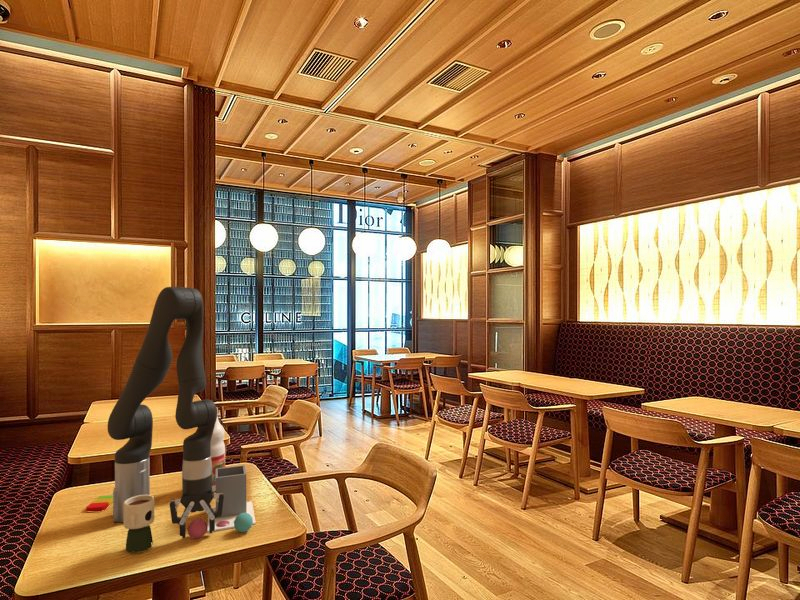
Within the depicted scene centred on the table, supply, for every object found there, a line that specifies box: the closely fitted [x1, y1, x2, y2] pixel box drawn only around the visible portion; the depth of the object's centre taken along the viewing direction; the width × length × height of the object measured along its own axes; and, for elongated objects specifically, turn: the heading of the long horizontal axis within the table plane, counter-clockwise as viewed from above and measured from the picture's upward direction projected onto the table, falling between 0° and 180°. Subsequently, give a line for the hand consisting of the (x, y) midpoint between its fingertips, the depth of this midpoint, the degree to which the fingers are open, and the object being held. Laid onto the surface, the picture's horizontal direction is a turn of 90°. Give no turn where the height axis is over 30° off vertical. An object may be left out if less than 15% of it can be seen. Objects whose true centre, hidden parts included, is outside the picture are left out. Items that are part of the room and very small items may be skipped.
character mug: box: [123, 494, 155, 553], centre depth 123 cm, size 11×7×13 cm, turn 12°
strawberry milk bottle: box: [211, 406, 226, 493], centre depth 164 cm, size 9×9×28 cm
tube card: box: [206, 464, 257, 533], centre depth 142 cm, size 13×16×12 cm
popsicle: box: [85, 492, 113, 512], centre depth 153 cm, size 6×15×2 cm, turn 8°
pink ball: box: [187, 518, 208, 540], centre depth 129 cm, size 5×5×5 cm
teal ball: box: [234, 513, 253, 533], centre depth 133 cm, size 5×5×5 cm
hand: (197, 534), depth 129 cm, fingers open, 6 cm apart
